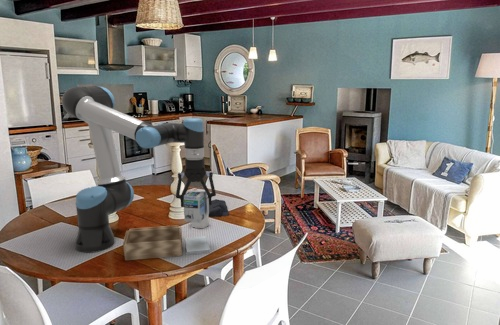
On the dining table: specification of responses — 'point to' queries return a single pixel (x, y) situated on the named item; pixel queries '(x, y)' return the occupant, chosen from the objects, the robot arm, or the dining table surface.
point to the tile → (197, 245)
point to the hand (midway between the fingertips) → (196, 213)
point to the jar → (201, 223)
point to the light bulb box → (195, 205)
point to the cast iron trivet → (218, 208)
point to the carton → (152, 242)
